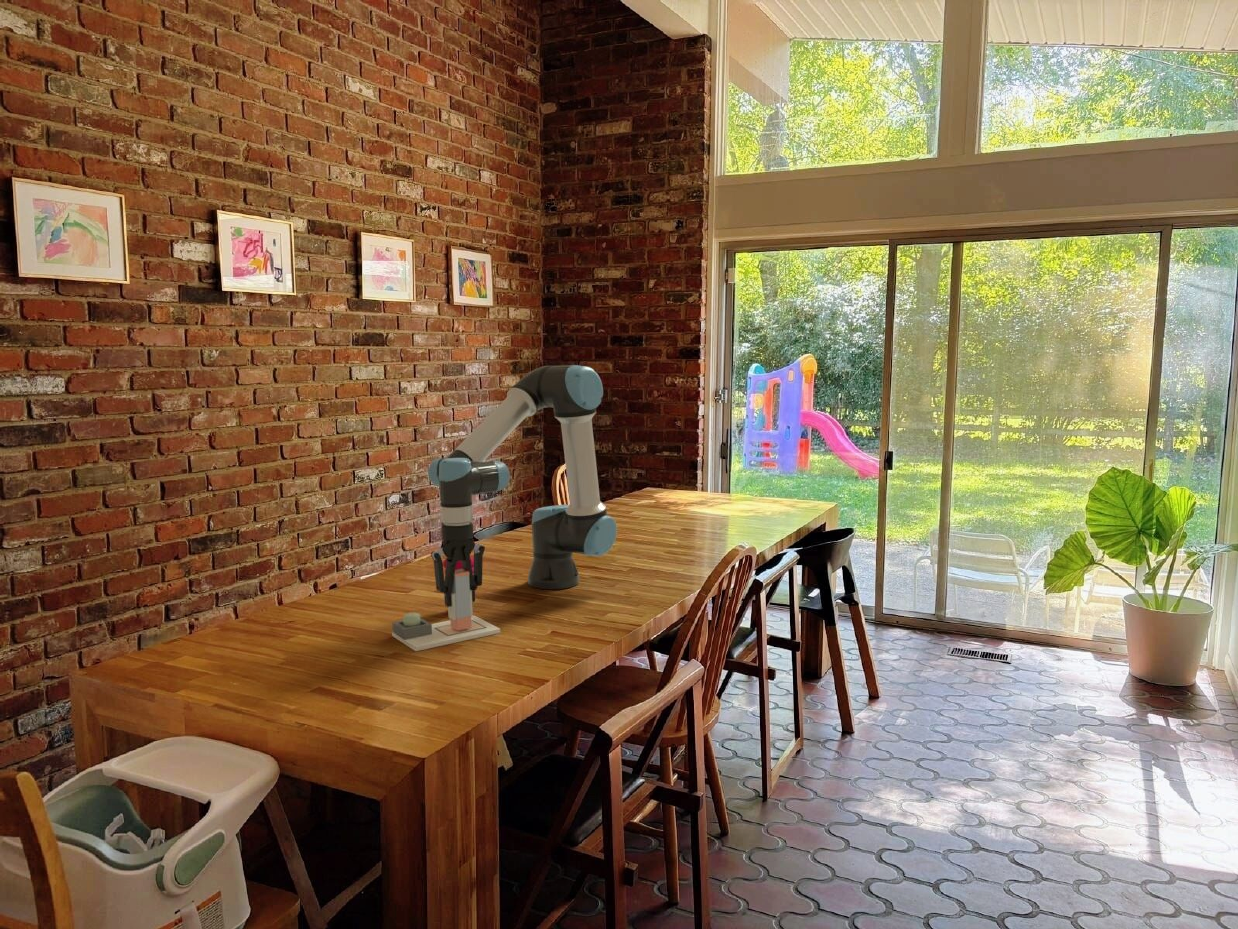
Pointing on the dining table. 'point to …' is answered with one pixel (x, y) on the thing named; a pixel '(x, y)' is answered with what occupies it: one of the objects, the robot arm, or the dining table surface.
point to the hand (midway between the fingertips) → (460, 616)
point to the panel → (440, 633)
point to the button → (411, 620)
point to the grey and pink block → (461, 600)
